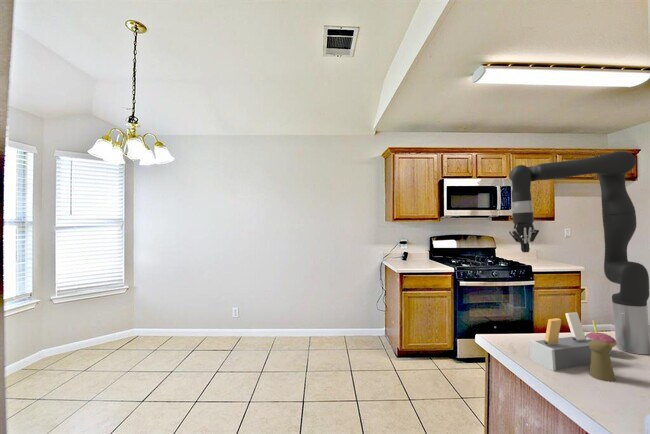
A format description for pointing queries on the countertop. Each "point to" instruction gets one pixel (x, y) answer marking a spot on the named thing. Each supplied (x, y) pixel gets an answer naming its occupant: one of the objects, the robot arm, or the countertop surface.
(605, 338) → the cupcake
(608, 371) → the cork
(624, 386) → the countertop surface
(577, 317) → the rocker switch
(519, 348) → the countertop surface
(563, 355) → the switch box
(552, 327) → the outlet rocker
